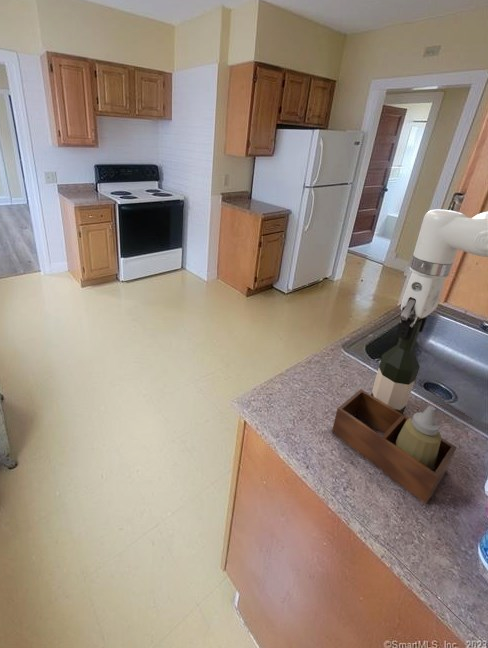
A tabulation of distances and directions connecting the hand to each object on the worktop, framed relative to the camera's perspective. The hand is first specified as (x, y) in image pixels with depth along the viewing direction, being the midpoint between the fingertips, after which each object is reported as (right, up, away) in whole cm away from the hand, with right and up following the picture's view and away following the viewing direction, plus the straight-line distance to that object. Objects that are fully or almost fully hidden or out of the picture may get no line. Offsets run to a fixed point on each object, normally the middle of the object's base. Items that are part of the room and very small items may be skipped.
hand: (409, 333), depth 79 cm
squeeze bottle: (-4, -30, -6) cm, 30 cm away
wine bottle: (-1, -23, +10) cm, 25 cm away
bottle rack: (-7, -28, -2) cm, 29 cm away
